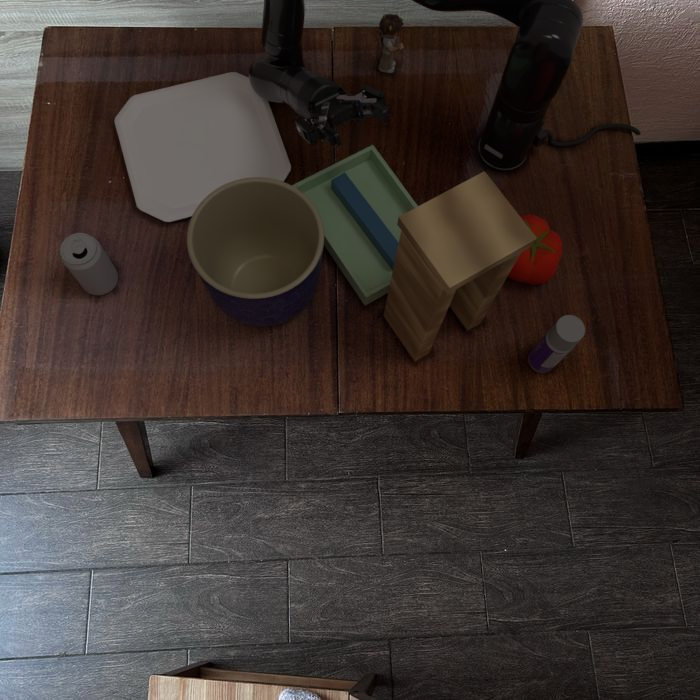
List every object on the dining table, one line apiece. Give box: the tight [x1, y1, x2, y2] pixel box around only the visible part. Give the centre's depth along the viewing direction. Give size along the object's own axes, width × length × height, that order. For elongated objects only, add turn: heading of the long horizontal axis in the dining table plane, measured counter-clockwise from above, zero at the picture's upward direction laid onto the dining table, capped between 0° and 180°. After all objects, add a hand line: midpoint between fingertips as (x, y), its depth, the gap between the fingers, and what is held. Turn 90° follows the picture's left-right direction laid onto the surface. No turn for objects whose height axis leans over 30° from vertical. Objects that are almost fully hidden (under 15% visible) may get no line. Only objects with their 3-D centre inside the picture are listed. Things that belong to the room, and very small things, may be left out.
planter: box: [186, 177, 325, 328], centre depth 113 cm, size 21×21×19 cm
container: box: [527, 314, 586, 374], centre depth 112 cm, size 5×5×15 cm
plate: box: [114, 71, 292, 224], centre depth 130 cm, size 29×29×2 cm
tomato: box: [507, 213, 563, 286], centre depth 122 cm, size 13×12×8 cm
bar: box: [331, 173, 399, 270], centre depth 125 cm, size 3×20×3 cm, turn 34°
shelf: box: [383, 170, 537, 362], centre depth 106 cm, size 14×12×32 cm
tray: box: [292, 144, 419, 306], centre depth 125 cm, size 18×26×4 cm
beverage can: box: [59, 232, 119, 296], centre depth 116 cm, size 6×6×12 cm
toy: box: [376, 3, 406, 74], centre depth 132 cm, size 6×6×15 cm
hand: (362, 128), depth 106 cm, fingers open, 8 cm apart
